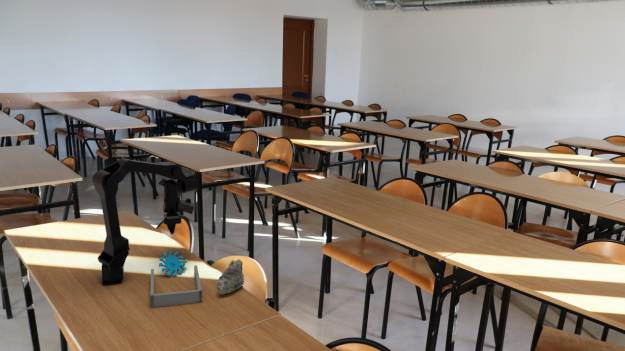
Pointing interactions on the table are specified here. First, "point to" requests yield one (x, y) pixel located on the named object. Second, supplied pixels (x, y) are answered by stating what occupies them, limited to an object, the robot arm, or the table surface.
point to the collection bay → (176, 294)
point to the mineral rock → (231, 278)
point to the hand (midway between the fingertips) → (172, 233)
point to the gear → (172, 263)
